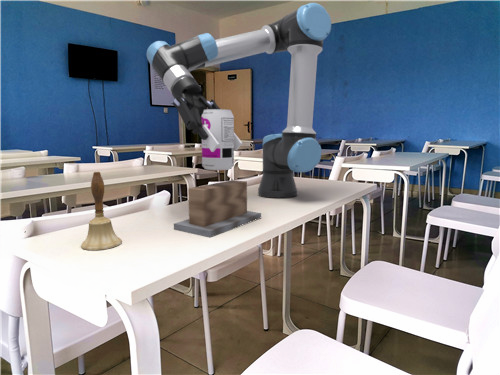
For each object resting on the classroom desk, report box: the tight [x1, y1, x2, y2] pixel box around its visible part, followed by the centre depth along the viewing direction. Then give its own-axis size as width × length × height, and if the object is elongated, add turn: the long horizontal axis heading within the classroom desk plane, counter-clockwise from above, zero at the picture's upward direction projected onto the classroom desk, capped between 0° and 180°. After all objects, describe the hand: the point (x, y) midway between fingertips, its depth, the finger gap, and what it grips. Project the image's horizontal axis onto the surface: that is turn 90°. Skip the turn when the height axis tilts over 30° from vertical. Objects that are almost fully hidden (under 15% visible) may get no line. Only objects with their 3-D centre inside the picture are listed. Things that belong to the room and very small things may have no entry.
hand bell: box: [80, 171, 123, 251], centre depth 75 cm, size 8×8×16 cm
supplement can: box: [200, 108, 235, 171], centre depth 90 cm, size 8×8×15 cm
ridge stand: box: [173, 179, 262, 238], centre depth 93 cm, size 22×12×10 cm, turn 145°
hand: (227, 147), depth 88 cm, fingers closed on supplement can, 8 cm apart
